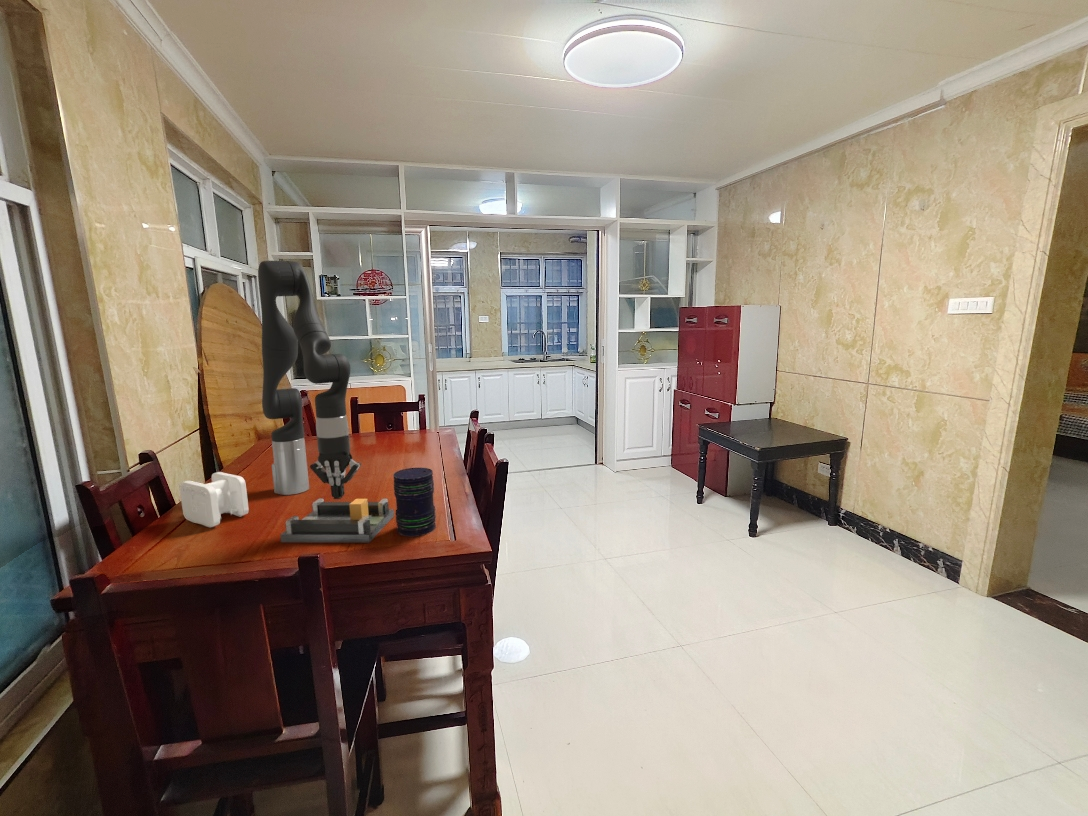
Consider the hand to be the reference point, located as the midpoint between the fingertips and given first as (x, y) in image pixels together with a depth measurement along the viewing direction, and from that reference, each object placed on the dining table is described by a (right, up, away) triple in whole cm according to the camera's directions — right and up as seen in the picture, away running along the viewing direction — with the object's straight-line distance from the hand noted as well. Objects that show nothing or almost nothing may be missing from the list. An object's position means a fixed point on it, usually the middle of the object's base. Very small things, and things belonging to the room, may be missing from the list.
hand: (338, 498), depth 126 cm
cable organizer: (-37, -8, +8) cm, 39 cm away
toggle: (+6, -6, 0) cm, 8 cm away
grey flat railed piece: (+1, -8, 0) cm, 8 cm away
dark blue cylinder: (+21, -8, -1) cm, 22 cm away
